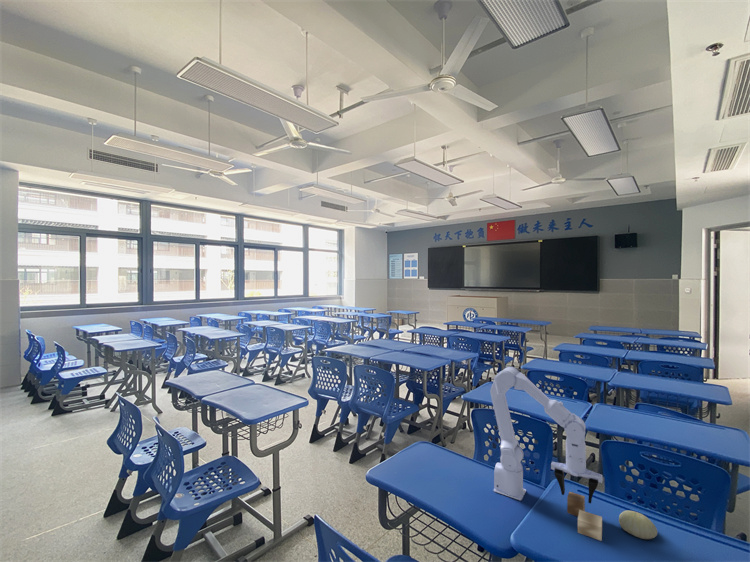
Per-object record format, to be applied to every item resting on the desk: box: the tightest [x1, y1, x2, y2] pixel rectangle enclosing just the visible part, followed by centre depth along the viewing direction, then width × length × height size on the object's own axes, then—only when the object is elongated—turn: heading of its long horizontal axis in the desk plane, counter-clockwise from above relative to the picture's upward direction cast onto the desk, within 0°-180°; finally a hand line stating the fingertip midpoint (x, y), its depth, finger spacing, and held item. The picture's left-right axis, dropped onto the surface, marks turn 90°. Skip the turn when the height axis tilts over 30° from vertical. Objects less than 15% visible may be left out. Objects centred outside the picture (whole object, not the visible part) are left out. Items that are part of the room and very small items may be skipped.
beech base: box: [577, 510, 603, 542], centre depth 104 cm, size 6×6×4 cm
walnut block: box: [566, 491, 586, 517], centre depth 113 cm, size 4×4×5 cm
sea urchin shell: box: [618, 510, 658, 540], centre depth 104 cm, size 9×8×8 cm
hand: (576, 497), depth 113 cm, fingers open, 7 cm apart
